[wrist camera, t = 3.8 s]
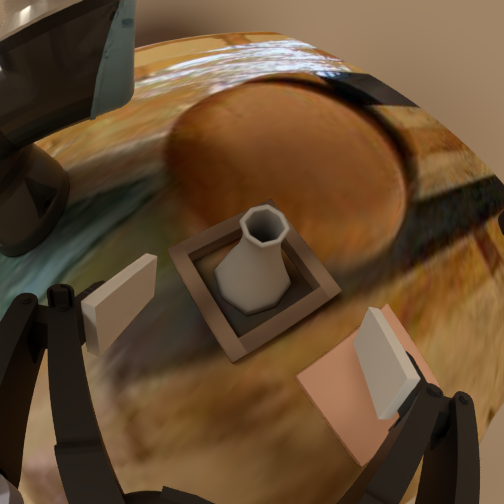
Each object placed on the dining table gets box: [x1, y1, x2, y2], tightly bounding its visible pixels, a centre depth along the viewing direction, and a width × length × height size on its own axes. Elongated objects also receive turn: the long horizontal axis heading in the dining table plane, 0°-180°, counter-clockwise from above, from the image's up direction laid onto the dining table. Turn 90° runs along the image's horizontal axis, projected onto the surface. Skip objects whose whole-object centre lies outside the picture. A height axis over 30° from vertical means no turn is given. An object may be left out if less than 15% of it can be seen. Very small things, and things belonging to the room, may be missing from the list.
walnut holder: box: [167, 199, 342, 363], centre depth 26 cm, size 12×12×2 cm
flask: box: [213, 204, 291, 316], centre depth 23 cm, size 7×7×10 cm
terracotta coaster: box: [293, 304, 440, 466], centre depth 22 cm, size 12×12×1 cm
